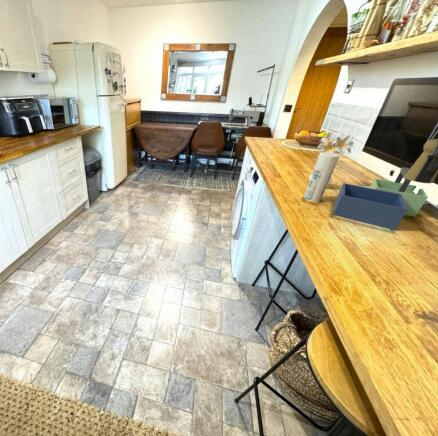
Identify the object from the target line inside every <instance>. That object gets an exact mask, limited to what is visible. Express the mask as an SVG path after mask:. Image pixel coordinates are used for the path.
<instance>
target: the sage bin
mask: <svg viewBox="0 0 438 436" xmlns="http://www.w3.org/2000/svg"><path fill="white" fill-rule="evenodd" d="M409 170H410V168H409V167H406V166H405V167H404V166H402V167H401V168H400V170H399V171H400V172H399V173H398V174H397V177H396V178H395V180H394V181H391V180H385V179H379V178H374V179H373V181H372V183H371V185H370V186H369V188H371V189H377V190H382V191H387V192H392V193H397V194H401V195H402V197H403V200H404V202H405V204H406V207H407V209H408V210H407V212H406V214H405V215H404V216H409V217H414V218H415V217H416V216H417V215H418V213H419V211H420V210H421V208H422V207H423V206H424V204H425V202H426V201H427V199H428V198H429V196H428V195H427V194H426V192H425V190H424V188H422V189H419V191H418V193H417V194H415V193H414V192H413V191H414V189H415V188H416V186H417V185H414V184H411V182H412V181H411V180H408V179H406V178H404V176H405V175H406V173H407V172H408V171H409ZM403 179H404V181H403ZM402 181H403V182H402Z"/></svg>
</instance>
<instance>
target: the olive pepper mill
mask: <svg viewBox="0 0 438 436" xmlns="http://www.w3.org/2000/svg"><path fill="white" fill-rule="evenodd" d="M437 143H438V139H432V140H429V141H427V140H426V142H424V144H423V148H422V149H423V151H422V153H421V154H420V155H419V157H418V158H417V159H416V160H415V162H414V163H413V165H412V166H411V167H410V168H409V169H410V170H409V171H408V172H407V173H406V175H405V176H404V177H403V179H404V178H406V179H408V180H411V182H414V183H415V182H416V183H421V184H426V183H425V182H419V181H415V179H416V177H417V175H418V174H419V172H420V170H421V169H422V167H423V165H424V164H425V162H426V160H427V159H428V158H427V155H432V153H433V151H434V149H435V147H436V145H437ZM437 175H438V169H437V171H436V173H435V174H434V176H433V177H432V179H431V180H430V182H429V183H428V184H433V183H434V182H435V180H436V177H437Z"/></svg>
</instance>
